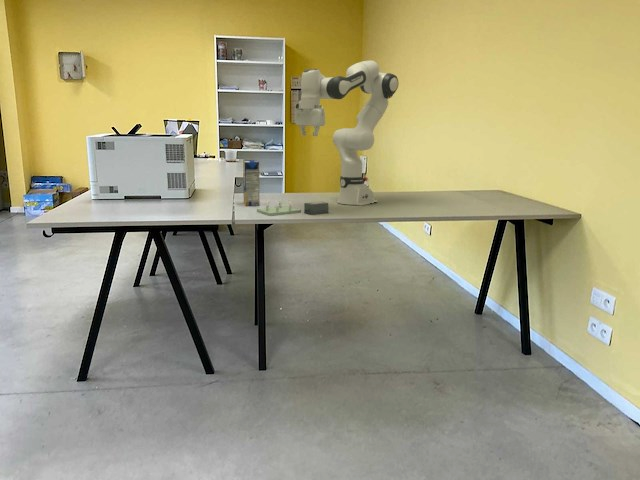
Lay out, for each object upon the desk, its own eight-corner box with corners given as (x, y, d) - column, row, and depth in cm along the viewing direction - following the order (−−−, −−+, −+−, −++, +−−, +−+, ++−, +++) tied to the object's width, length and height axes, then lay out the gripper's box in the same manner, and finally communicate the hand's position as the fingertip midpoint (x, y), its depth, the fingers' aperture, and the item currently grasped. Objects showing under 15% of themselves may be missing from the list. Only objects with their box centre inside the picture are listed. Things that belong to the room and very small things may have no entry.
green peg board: (287, 208, 238) (287, 198, 237) (300, 212, 229) (300, 201, 228) (256, 211, 228) (256, 200, 227) (269, 216, 219) (269, 204, 218)
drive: (321, 211, 233) (321, 201, 232) (328, 213, 229) (328, 202, 228) (304, 213, 228) (304, 202, 226) (311, 215, 223) (311, 204, 222)
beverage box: (245, 206, 241) (245, 162, 236) (243, 202, 252) (243, 160, 246) (259, 206, 243) (259, 162, 238) (256, 202, 253) (256, 160, 248)
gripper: (329, 105, 217) (327, 136, 221) (303, 105, 233) (302, 134, 236) (317, 104, 214) (316, 136, 217) (292, 105, 230) (292, 134, 233)
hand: (309, 135), depth 227 cm, fingers open, 8 cm apart
